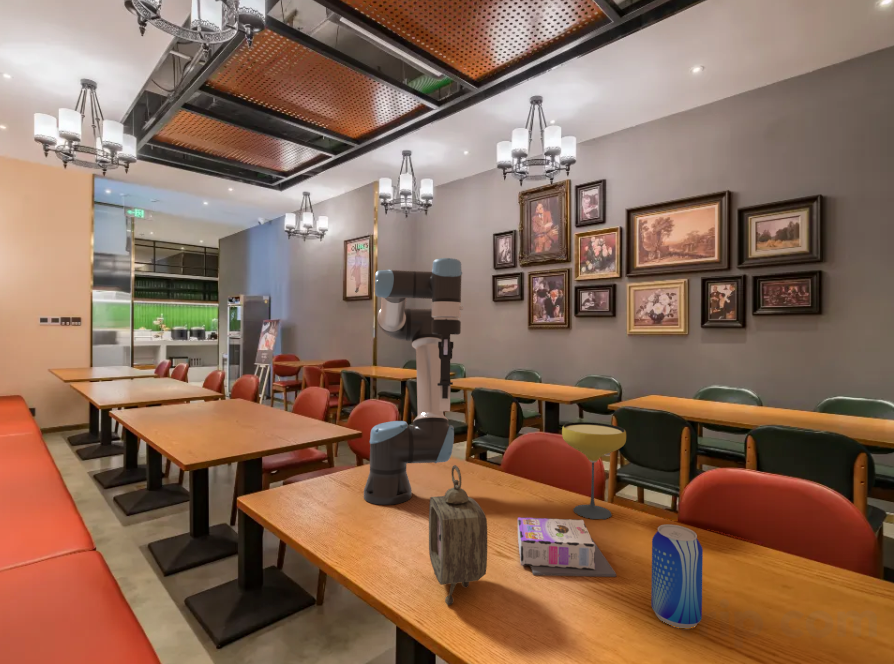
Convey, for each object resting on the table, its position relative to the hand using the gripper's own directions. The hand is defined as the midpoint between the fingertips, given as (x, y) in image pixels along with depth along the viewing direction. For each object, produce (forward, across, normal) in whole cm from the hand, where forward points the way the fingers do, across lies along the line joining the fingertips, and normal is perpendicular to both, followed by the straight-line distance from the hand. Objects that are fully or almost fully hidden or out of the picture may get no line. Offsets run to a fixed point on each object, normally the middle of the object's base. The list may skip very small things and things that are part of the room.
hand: (444, 410), depth 118 cm
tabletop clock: (+33, -24, -3) cm, 40 cm away
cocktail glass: (+33, +18, -44) cm, 58 cm away
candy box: (+29, -8, -18) cm, 35 cm away
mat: (+32, -8, -29) cm, 44 cm away
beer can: (+33, -32, -44) cm, 63 cm away
